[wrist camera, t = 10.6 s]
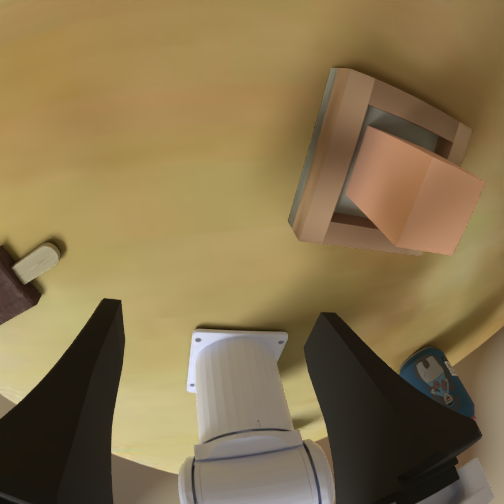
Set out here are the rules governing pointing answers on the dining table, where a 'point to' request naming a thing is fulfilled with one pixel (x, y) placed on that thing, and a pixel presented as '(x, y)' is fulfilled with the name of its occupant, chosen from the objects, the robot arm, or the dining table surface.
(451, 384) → the soda can
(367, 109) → the walnut base
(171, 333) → the dining table surface
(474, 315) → the dining table surface
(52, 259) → the ice cream bar
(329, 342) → the robot arm
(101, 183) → the dining table surface
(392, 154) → the terracotta block
